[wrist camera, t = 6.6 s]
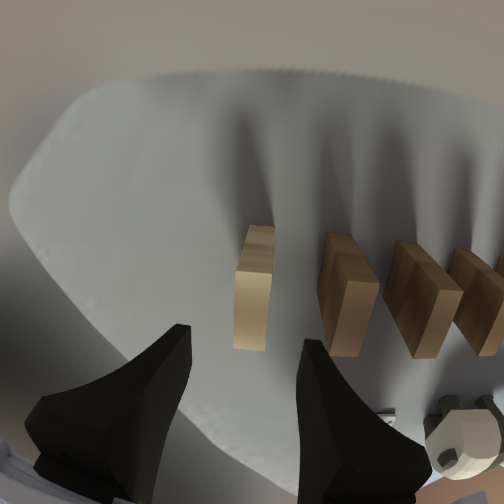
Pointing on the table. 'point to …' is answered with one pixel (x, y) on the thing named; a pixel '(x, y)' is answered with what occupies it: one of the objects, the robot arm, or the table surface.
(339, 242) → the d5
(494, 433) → the giant panda
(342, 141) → the table surface
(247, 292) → the maple tile
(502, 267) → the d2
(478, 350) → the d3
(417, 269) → the d4
